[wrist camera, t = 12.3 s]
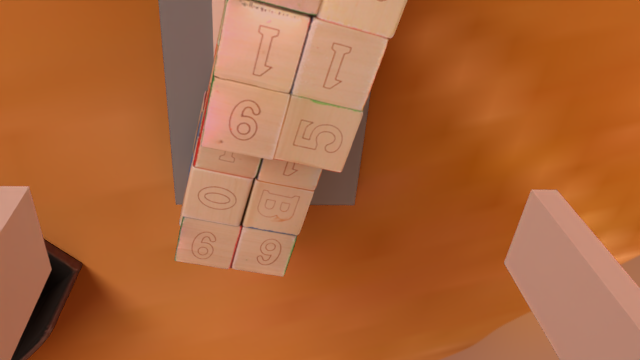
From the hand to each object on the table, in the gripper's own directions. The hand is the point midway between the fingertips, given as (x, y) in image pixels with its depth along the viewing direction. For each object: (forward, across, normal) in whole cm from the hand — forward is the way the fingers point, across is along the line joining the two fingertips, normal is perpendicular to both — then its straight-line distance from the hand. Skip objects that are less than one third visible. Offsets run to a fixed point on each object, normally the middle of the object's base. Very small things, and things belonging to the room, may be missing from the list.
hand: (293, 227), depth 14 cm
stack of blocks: (+20, 0, -1) cm, 20 cm away
